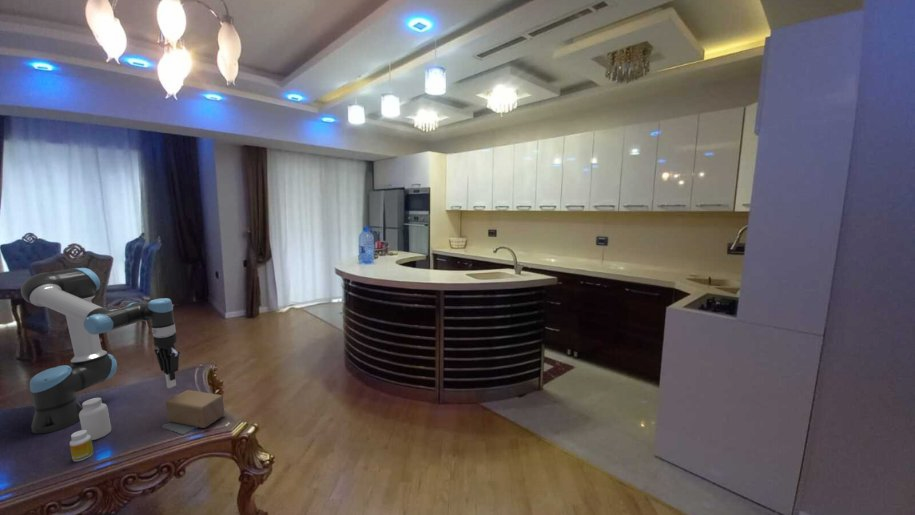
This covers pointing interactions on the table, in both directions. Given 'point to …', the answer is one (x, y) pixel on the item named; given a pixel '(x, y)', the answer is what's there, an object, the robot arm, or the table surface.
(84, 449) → the supplement bottle
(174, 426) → the mat
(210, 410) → the wooden block
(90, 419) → the pill bottle
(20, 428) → the table surface
